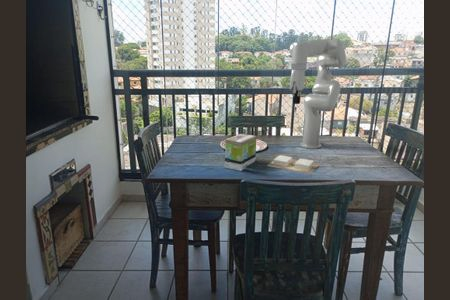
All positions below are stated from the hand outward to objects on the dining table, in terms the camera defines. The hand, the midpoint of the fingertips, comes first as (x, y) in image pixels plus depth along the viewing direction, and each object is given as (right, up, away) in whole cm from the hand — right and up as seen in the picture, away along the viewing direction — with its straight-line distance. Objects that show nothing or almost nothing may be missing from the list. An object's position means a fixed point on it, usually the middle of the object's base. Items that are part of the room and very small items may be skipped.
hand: (296, 103), depth 169 cm
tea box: (-30, -32, -5) cm, 44 cm away
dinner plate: (-26, -24, +23) cm, 43 cm away
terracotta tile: (-6, -29, -2) cm, 29 cm away
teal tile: (+3, -30, -8) cm, 31 cm away
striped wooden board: (-3, -33, -7) cm, 34 cm away
